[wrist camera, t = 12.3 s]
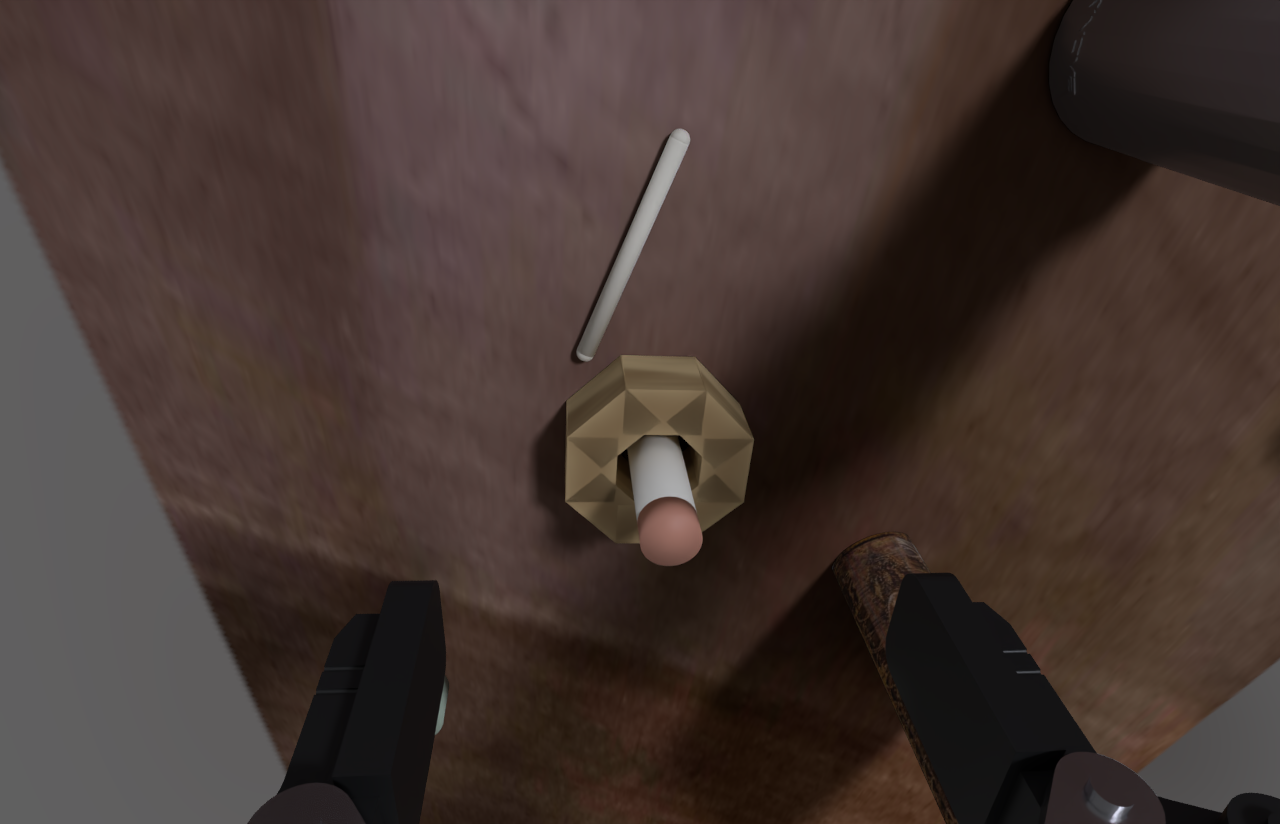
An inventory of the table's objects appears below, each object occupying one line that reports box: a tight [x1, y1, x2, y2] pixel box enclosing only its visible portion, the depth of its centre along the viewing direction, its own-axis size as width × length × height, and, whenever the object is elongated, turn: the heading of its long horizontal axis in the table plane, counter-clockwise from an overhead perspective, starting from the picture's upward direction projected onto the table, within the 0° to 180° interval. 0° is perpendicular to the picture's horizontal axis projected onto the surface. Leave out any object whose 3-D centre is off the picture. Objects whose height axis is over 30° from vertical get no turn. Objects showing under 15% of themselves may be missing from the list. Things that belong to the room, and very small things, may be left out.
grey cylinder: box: [627, 435, 703, 566], centre depth 41 cm, size 3×3×10 cm
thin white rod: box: [576, 129, 690, 361], centre depth 39 cm, size 13×1×1 cm, turn 156°
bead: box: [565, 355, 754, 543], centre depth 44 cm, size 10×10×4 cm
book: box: [832, 532, 959, 824], centre depth 44 cm, size 16×6×25 cm, turn 28°
